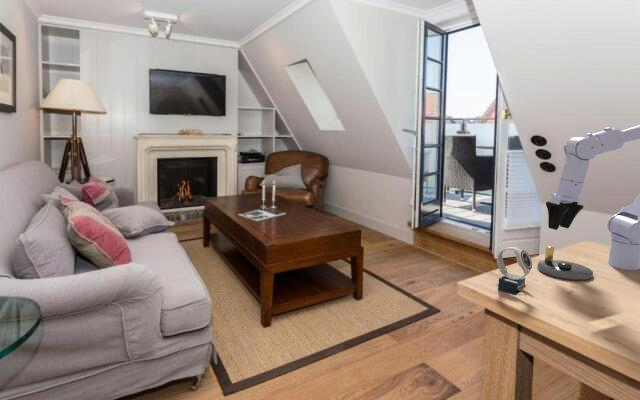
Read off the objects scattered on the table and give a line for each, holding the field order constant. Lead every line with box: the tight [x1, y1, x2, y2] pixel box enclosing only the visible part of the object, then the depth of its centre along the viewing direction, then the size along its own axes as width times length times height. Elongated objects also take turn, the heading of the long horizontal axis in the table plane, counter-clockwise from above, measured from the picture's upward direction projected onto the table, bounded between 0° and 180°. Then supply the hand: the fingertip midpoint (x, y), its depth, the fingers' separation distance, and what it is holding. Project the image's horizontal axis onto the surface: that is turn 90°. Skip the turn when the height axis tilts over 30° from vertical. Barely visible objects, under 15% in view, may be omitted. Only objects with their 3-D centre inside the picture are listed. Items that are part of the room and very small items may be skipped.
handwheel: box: [536, 245, 594, 282], centre depth 111 cm, size 13×13×6 cm
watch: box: [496, 246, 533, 296], centre depth 102 cm, size 6×8×11 cm
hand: (558, 228), depth 115 cm, fingers open, 7 cm apart
